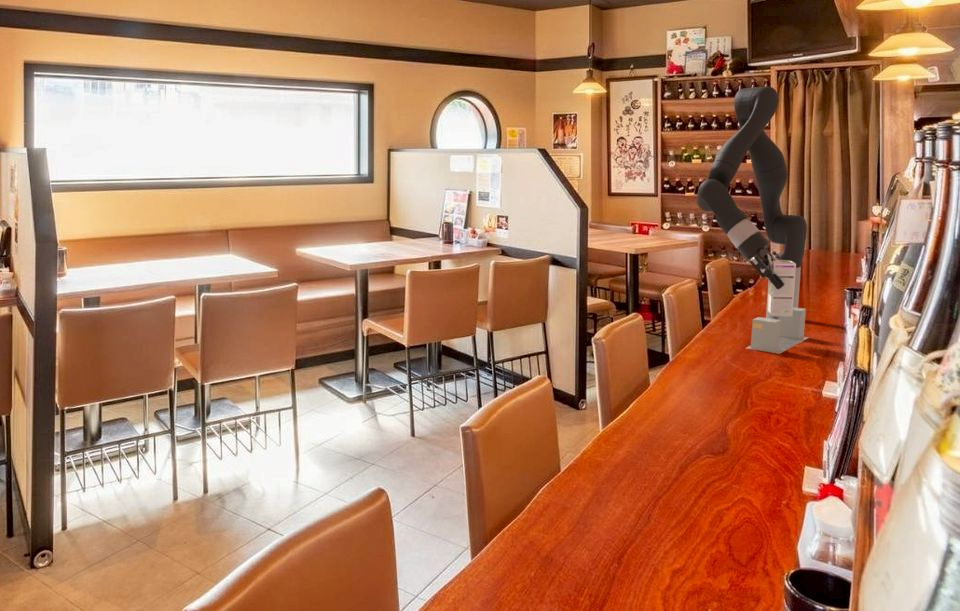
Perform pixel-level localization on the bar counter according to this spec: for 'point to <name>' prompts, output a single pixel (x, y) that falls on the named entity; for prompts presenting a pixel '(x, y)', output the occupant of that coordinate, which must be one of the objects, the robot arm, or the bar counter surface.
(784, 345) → the grey flat base plate
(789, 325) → the block
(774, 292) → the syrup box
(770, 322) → the block
